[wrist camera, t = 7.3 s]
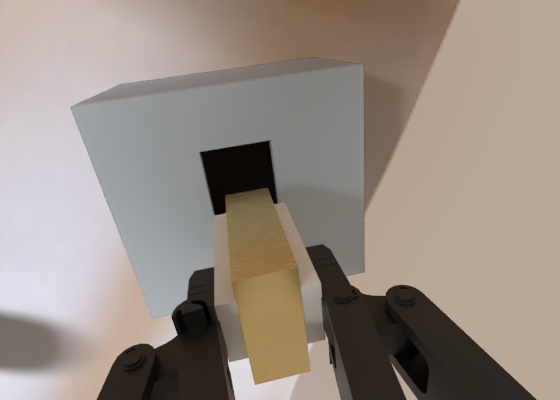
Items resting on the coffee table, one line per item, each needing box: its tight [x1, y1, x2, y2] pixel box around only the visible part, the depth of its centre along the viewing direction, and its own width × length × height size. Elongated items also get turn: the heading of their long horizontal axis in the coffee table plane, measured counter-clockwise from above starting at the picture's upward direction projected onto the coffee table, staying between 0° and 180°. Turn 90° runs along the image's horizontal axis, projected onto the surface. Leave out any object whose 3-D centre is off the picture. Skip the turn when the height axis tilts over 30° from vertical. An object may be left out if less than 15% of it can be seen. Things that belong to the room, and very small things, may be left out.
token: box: [225, 188, 310, 385], centre depth 15 cm, size 5×2×7 cm, turn 7°
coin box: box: [70, 58, 365, 319], centre depth 25 cm, size 14×15×10 cm
